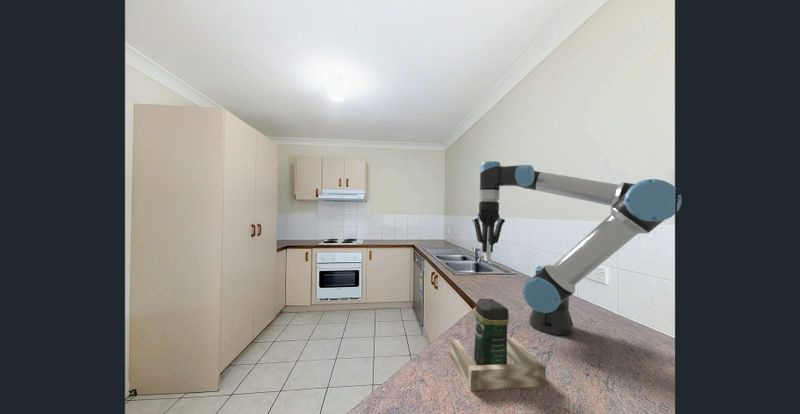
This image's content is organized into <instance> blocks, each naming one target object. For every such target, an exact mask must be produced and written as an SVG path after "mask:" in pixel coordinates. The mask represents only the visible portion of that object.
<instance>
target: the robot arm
mask: <svg viewBox="0 0 800 414" xmlns="http://www.w3.org/2000/svg"><path fill="white" fill-rule="evenodd" d="M479 171H480V172H479V199H478V200H479V202H478V203H479V204H478V214H477V216H476V217H473V218H471V220H472V223H473V224H474V229H475V234H476V240H477V242H479V243H480V244H482V245H481V251H482V253H483V260H484V261H485V262H491V255H492V253H493V252H494V245H495V244H497V243H498V242H499V239H500V235H501V232H502V227H503V225H504V224H505V222H506V220H505V219H504V218H502V217H500V214H499V210H500V202H499V201H500V188H501V187H509V186H510V187H512V186H513V187H514V186H515V187H519V188H521V189H526V190H532V191H538V192H543V193H547V194H552V195H556V196H561V197H567V198H570V199H576V200H580V201H587V202H591V203H595V204H601V205H605V206H610V214H609V215H608V216H607V217H606V218H605V219H604V220H602V221H601V222H600V223H599V224H598V225H597V226H596V227H594V229H592V230H591V231H590V232H589V233H588V234H587V235H585V237H583V238H582V239H581V240H580V241H579V242H578V243H577V244H576V245H574V246H573V247H572V248H571V249H570V250H569V251H567V252H566V253H565V254H564V255H563V256H562V257H561V258H560V259H559V260H557V262H555V263H554V264H552V265H551V264H545V265H537V266H536V268H535V272H534V273H535V274H534V275H533V276H532V277H531V278H529V279H528V280H526V282H525V283H524V285H523V288H522V295H523V299H524V301H525V303H526V304H527V306H529V307H530V308H531V313H530V315H529V317H528V319H529V320H528V323H529V325H530V326H531V327H532V328H534V329H536V330H538V331H540V332H544V333H546V334H550V335H554V336H555V335H556V336H570V335H572V334H573V333H574V323H573V319H572V316H571V313H570V310H569V309H570V308H569V307H570V306H569V305H570V297H571V296H572V295H573V294H574V293H576V285H577V284H579V282H581V281H582V280H584V279H585V278H586V276H588V275H590V273H592V272H593V271H594V270H596V269H597V268H598V267H599V266H600V265H601V264H603V263H604V262H606V260H608V259H609V258H611V256H612V255H614V254H615V253H616V252H617V251H619V250H620V249H621V248H622V247H623V246H625V245H626V244H627V243H629V242H630V241H631V240H633V238H634V237H636V236H637V235H639V234H649V233H650V232H652V231H653V230H654V229H656V227H658V226H659V225H661V223H663V222H664V221H665V220H669V219H670V218H672V217H673V216H675V215H676V214H675V188H676V187H675V185H673V184H671V183H670V182H668V181H665V180H662V179H658V178H648V179H644V180H640V181H638V182H637V183H632V182H631V183H630V182H629V183H628V182H622V183H619V184H618V183H613V182H611V183H610V182H605V181H599V180H593V179H586V178H580V177H574V176H568V175H562V174H556V173H549V172H544V171H539V170H538V171H537V170H535V169H534V167H533V166H532V164H520V165H519V164H518V165H506V166H505V165H503V166H501V162H500V161H496V160H493V161H491V160H489V161H484V162H482V163H481V165H480V170H479ZM677 200H678V202H677V213H678V212H679V210H680V209H681V206H682V195H681V194H680V195H678V199H677ZM480 222H481V224H480ZM481 227H482V228H481Z"/></svg>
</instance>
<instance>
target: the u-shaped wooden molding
mask: <svg viewBox="0 0 800 414" xmlns="http://www.w3.org/2000/svg"><path fill="white" fill-rule="evenodd" d="M449 355H450V358H451V359H452V361H453V363H454V365H455V367H456V369H457V370H458V372H459V373H460V375H461V377H462V379H463V380H464V382H465V383H466V385H467V386H468V388H469V390H470V391H472V392H473V391H484V390H485V391H486V390H489V391H490V390H502V389H506V390H507V389H516V388H517V389H519V388H521V389H522V388H536V387H546V375H547V374H546V370H547V368H546V367H547V366H546V365H545V364H543V362H541V361H540V360H539V359H538V358H536V356H534V355H533V354H532V353H531V352H530V351H528V350H527V349H526V348H525V347H524V346H523V345H522V344H520V343H519V342H518V341H517V339H515V338H513V337H507V357H509V358H510V360H511V361H513V363H507V364H498V365H477V364H476V363H475V361H473V359H472V358H471V357H470V355H469V354H468V353H467V351H466V349H465V348H464V347H463V345H462V344H461V343H460V341H459V340H458V339H450V354H449Z"/></svg>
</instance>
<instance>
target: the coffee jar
mask: <svg viewBox="0 0 800 414" xmlns="http://www.w3.org/2000/svg"><path fill="white" fill-rule="evenodd" d="M509 315H510V314H509V309H508V308H507V307H506V306H505V305H503V304H501V303H500V302H498V301H497V300H494V299H493V298H480V299H478V301H476V305H475V333H474V334H475V337H474V351H473V360H474V363H475V365H476V366H477V365H498V364H508V355H507V338H508V326H509V325H508V324H509V320H510V319H509V317H510V316H509Z"/></svg>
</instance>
